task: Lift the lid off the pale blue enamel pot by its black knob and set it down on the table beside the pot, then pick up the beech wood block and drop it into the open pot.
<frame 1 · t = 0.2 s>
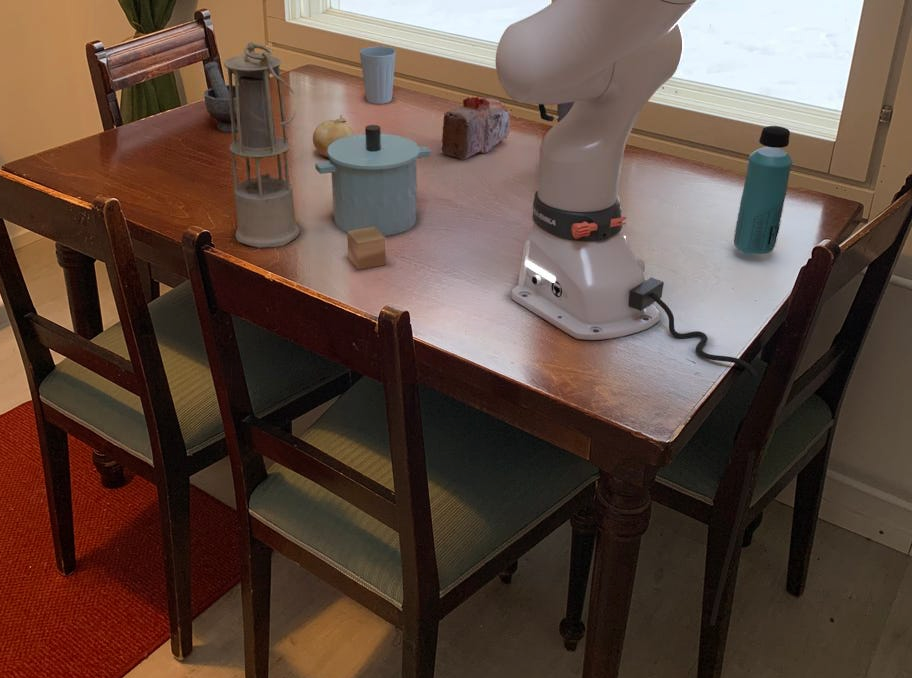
lamp: (272, 237, 162), on the table
pot: (375, 219, 167), on the table
onion: (334, 155, 192), on the table
moka pot: (569, 171, 186), on the table
beverage bottle: (751, 255, 157), on the table
block: (366, 261, 154), on the table
food item: (475, 149, 195), on the table
cup: (379, 101, 219), on the table
mortar and pestle: (230, 126, 205), on the table
pot lid: (373, 152, 161), point 11 cm above the table, touching pot
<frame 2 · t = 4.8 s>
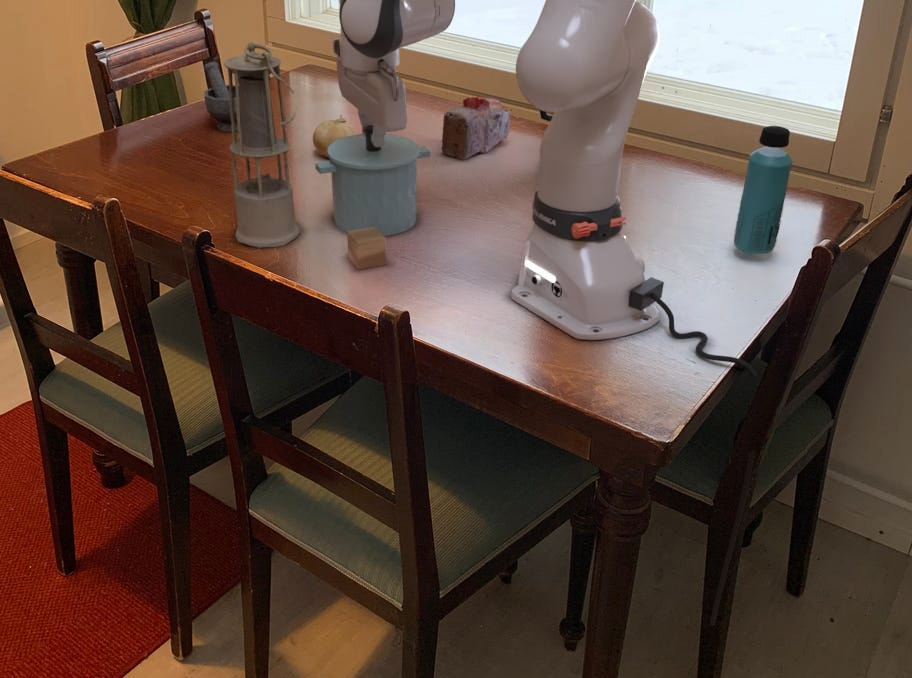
hand: (373, 141, 160), 13 cm above the table, tool pointing down, fingers closed on pot lid, 2 cm apart
pot lid: (373, 152, 161), point 12 cm above the table, touching gripper, pot
everything else where it was.
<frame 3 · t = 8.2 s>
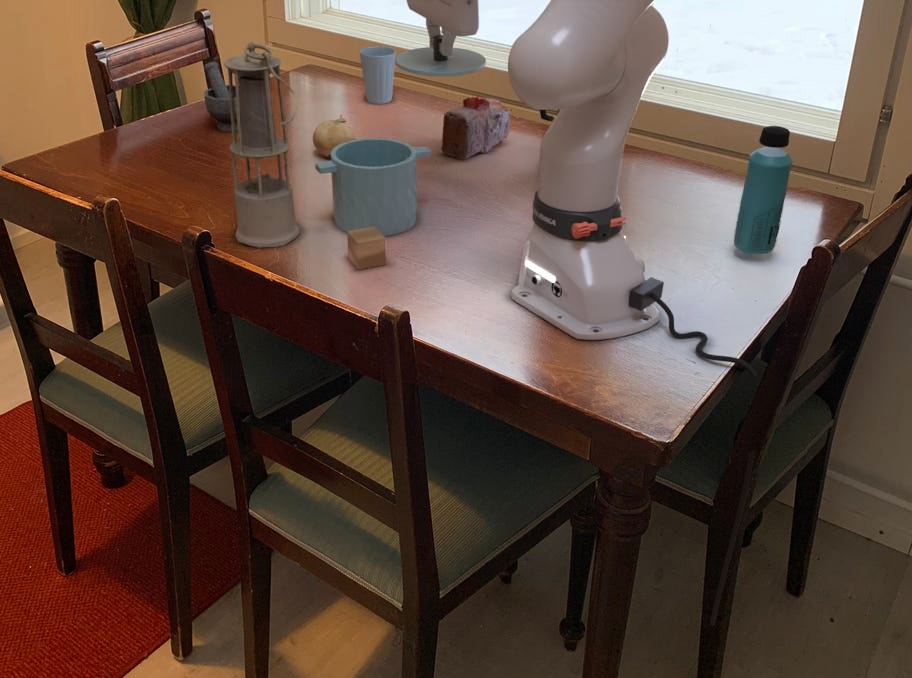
hand: (440, 51, 163), 24 cm above the table, tool pointing down, fingers closed on pot lid, 2 cm apart
pot lid: (440, 63, 164), point 22 cm above the table, touching gripper
everything else where it was.
when the fingers open (3 cm above the table, at t = 11.9 s): pot lid drops 1 cm, point 1 cm above the table.
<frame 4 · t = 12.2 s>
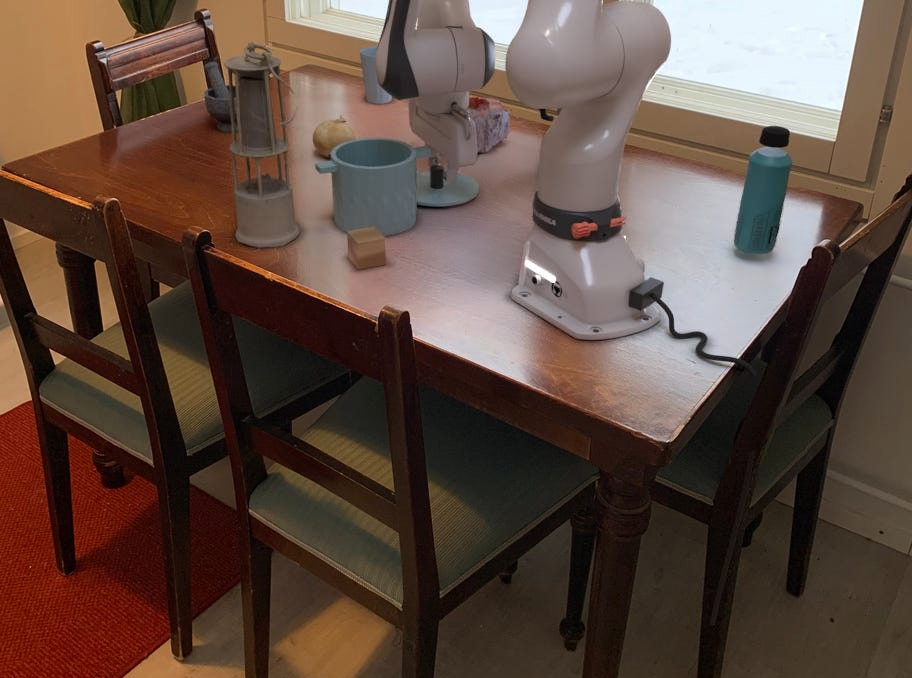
hand: (442, 174, 175), 3 cm above the table, tool pointing down, fingers open, 5 cm apart
pot lid: (436, 189, 176), point 1 cm above the table
everything else where it was.
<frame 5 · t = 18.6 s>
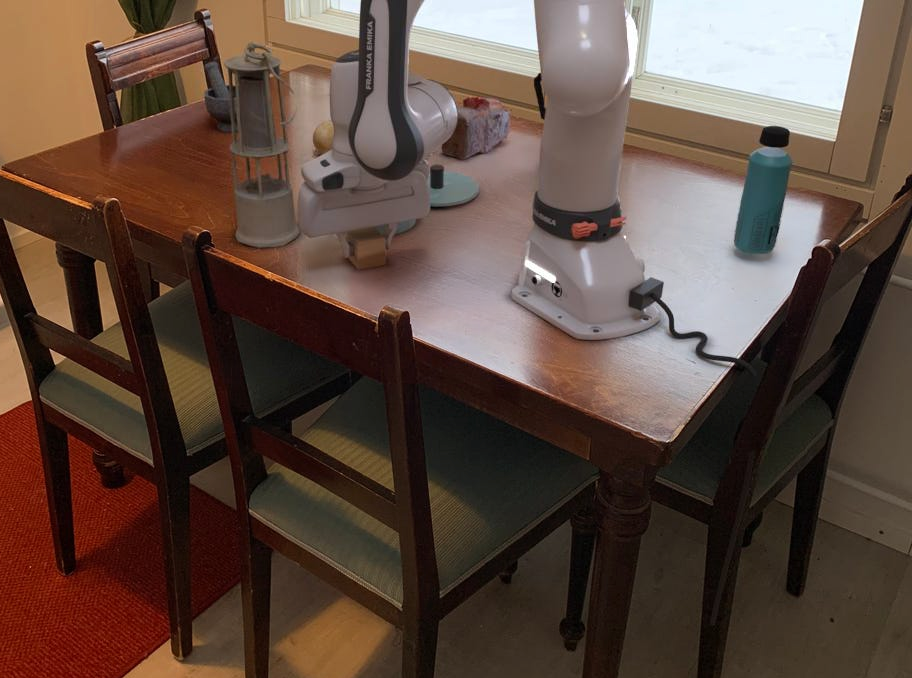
hand: (366, 251, 154), 2 cm above the table, tool pointing down, fingers closed on block, 4 cm apart
block: (367, 261, 154), on the table, touching gripper
everything else where it was.
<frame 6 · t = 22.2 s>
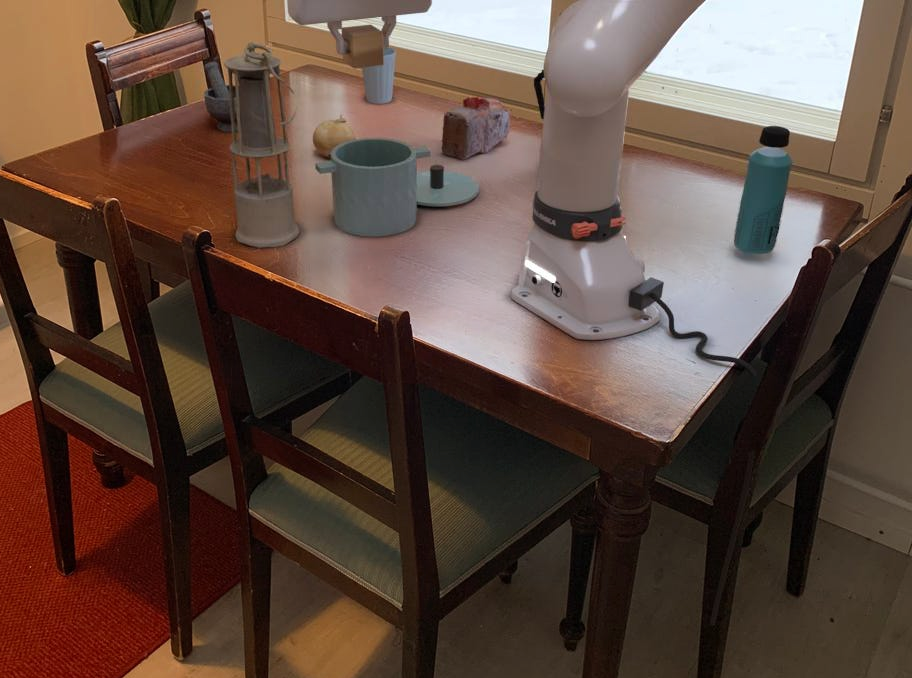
hand: (362, 51, 141), 30 cm above the table, tool pointing down, fingers closed on block, 4 cm apart
block: (363, 62, 142), point 29 cm above the table, touching gripper
everything else where it was.
when the fingers open (14 cm above the table, at t = 26.2 s): block drops 12 cm, resting on pot.
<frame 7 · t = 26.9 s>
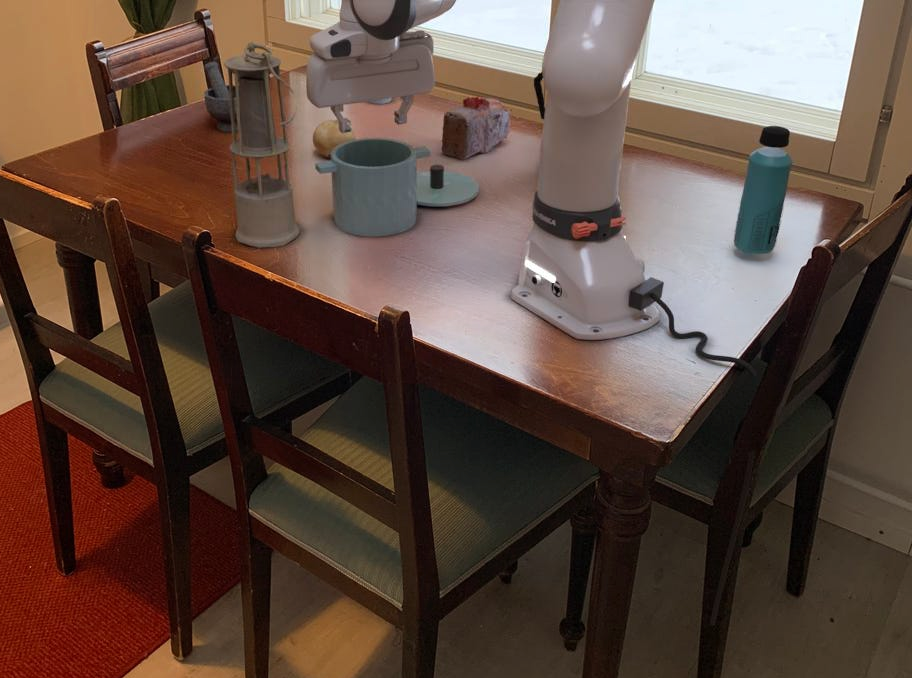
hand: (373, 127, 158), 16 cm above the table, tool pointing down, fingers open, 8 cm apart
block: (375, 216, 167), resting on pot
everything else where it was.
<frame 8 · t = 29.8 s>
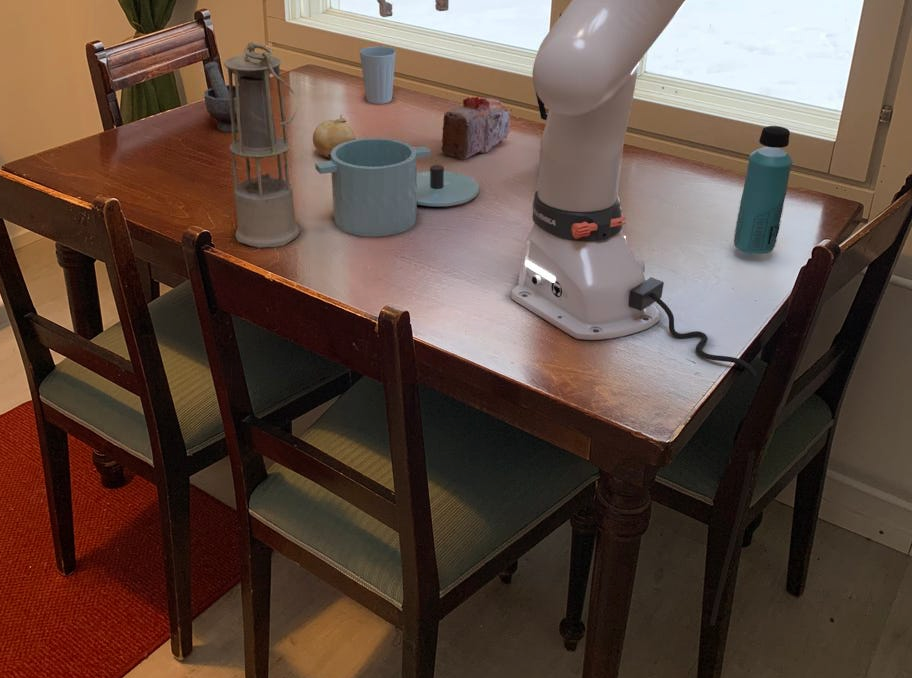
hand: (414, 13, 155), 31 cm above the table, tool pointing down, fingers open, 8 cm apart
nothing on the table moved.
at the end: pot lid inside the target area (1.0 cm from its centre), point 0.6 cm above the table; pot lid tilted 0°; block inside the target area in the pot (0.0 cm from its centre), point 0.5 cm above the pot's base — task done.
